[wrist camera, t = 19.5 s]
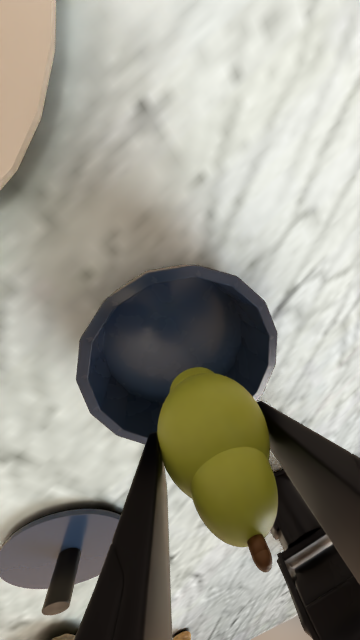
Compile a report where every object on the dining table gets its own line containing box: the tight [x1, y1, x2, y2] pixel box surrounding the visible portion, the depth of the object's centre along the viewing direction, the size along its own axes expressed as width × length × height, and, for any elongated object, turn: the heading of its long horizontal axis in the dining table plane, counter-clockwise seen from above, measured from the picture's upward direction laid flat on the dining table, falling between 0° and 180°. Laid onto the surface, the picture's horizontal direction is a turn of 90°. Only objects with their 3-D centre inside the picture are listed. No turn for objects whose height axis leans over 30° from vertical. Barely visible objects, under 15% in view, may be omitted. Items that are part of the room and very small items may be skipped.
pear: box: [157, 367, 278, 572], centre depth 7 cm, size 5×5×7 cm
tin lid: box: [0, 509, 121, 615], centre depth 20 cm, size 15×15×5 cm
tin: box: [76, 265, 277, 444], centre depth 14 cm, size 14×14×4 cm
